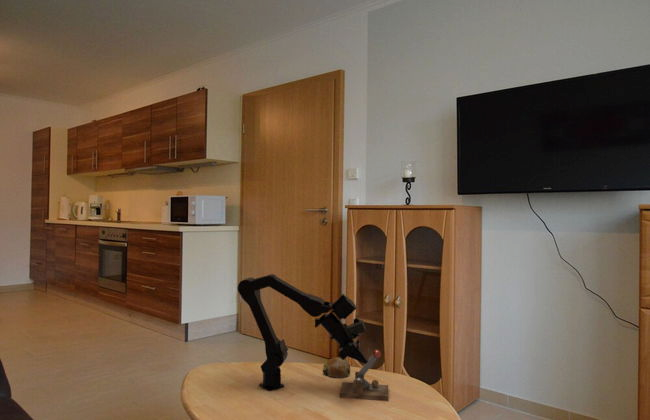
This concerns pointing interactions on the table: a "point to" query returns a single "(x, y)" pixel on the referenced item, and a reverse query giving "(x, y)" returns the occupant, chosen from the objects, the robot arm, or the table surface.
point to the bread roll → (337, 368)
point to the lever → (367, 367)
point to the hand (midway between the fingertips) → (366, 362)
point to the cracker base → (364, 390)
